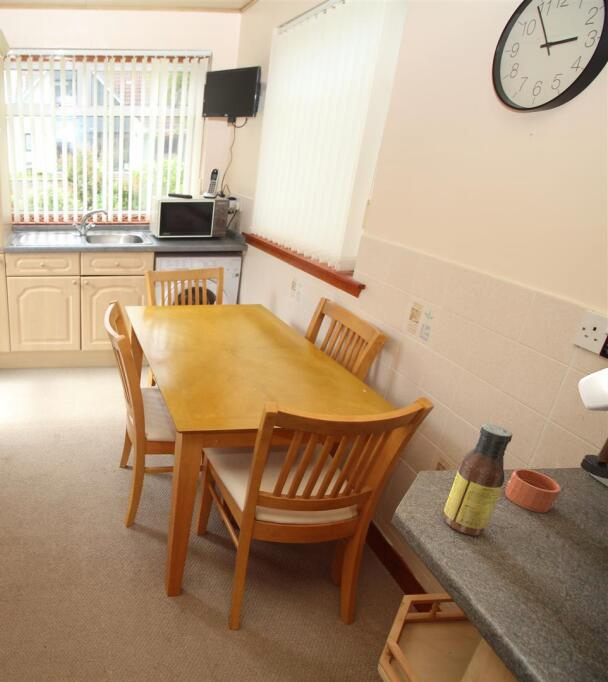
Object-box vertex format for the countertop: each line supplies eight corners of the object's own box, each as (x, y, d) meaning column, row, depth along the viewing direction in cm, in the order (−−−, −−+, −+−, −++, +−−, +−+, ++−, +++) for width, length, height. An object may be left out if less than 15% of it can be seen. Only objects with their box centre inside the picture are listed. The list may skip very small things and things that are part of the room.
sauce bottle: (490, 532, 84) (535, 438, 77) (468, 541, 82) (511, 445, 74) (453, 508, 90) (491, 417, 82) (431, 515, 88) (468, 423, 80)
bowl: (525, 488, 96) (535, 467, 94) (560, 512, 90) (571, 491, 88) (494, 489, 96) (504, 468, 94) (527, 514, 89) (538, 492, 87)
